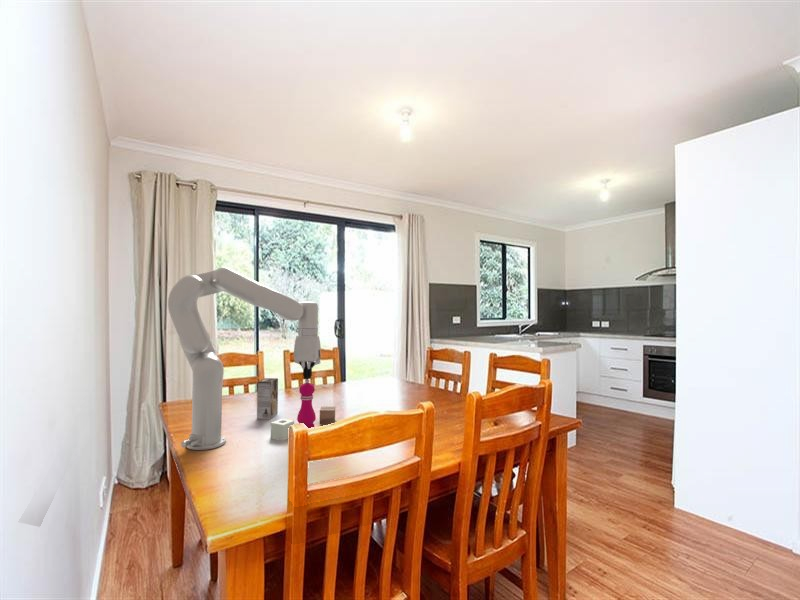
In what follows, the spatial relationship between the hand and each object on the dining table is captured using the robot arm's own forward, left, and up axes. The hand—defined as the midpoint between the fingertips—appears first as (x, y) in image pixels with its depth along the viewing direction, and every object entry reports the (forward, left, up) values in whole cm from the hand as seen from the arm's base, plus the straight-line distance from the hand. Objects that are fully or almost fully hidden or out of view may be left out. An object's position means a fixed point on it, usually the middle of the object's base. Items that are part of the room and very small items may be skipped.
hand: (307, 378), depth 160 cm
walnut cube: (+11, -4, -20) cm, 23 cm away
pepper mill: (0, 0, -21) cm, 21 cm away
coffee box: (+11, +25, -21) cm, 34 cm away
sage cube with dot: (-11, +4, -20) cm, 24 cm away
